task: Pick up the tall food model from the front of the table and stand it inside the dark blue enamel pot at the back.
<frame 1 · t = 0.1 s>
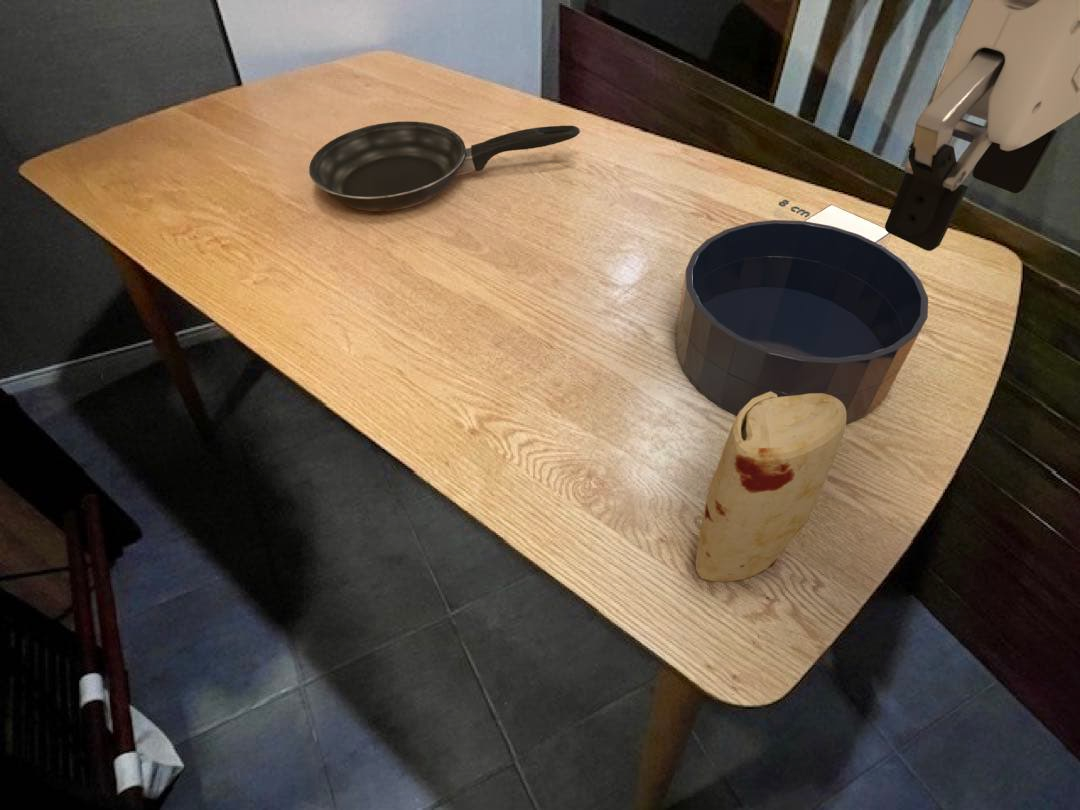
hand: (954, 210, 40), 30 cm above the table, tool pointing down, fingers open, 9 cm apart
pot: (780, 351, 75), on the table
frying pan: (436, 180, 107), on the table
food model: (737, 558, 58), on the table
container: (831, 249, 89), on the table
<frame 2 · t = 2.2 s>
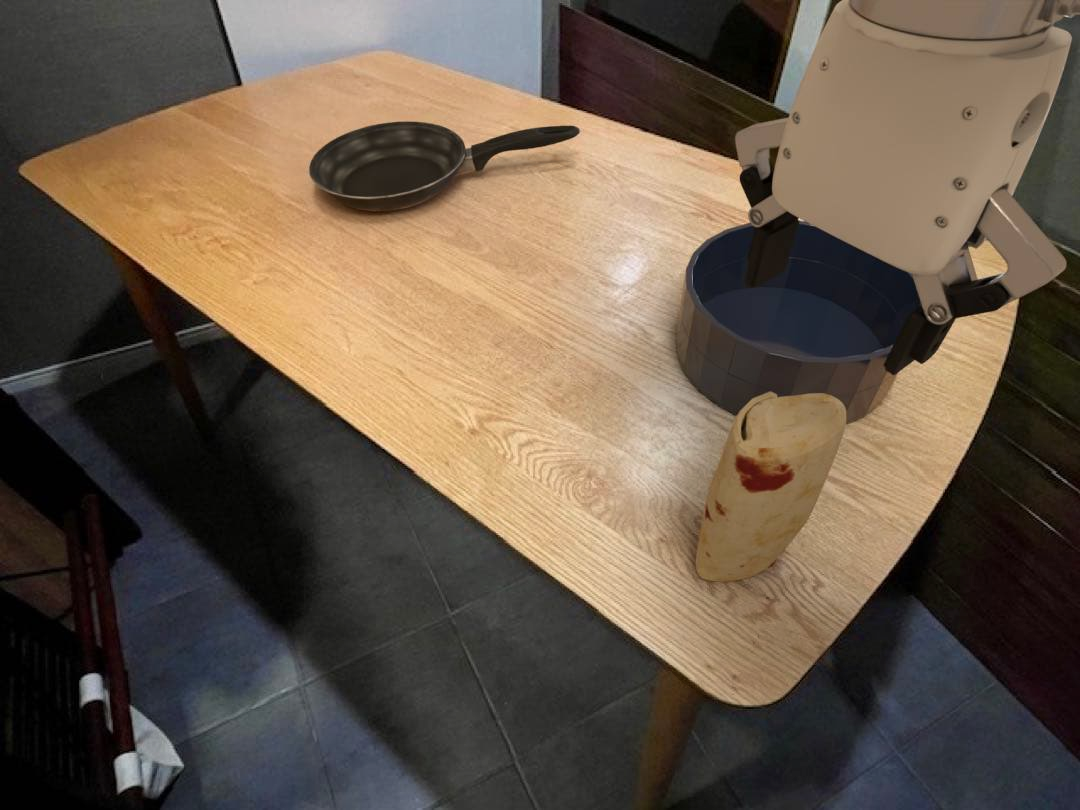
hand: (829, 316, 38), 28 cm above the table, tool pointing down, fingers open, 9 cm apart
nothing on the table moved.
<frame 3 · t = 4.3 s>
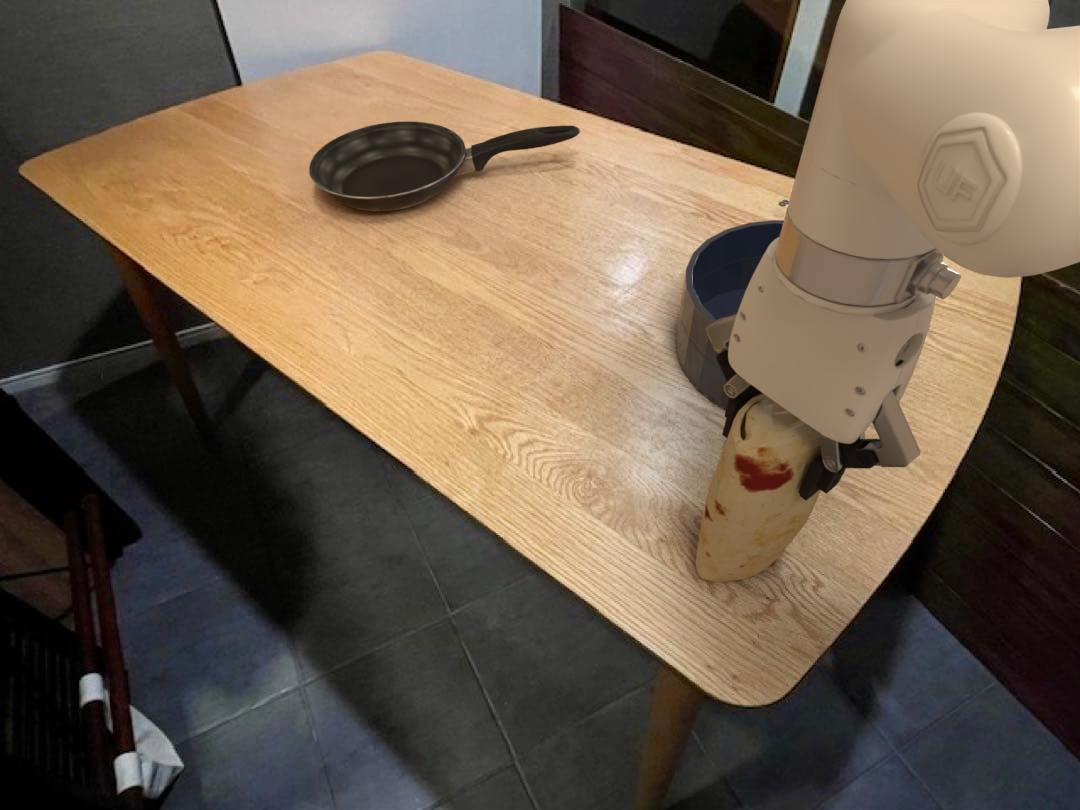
hand: (775, 455, 47), 15 cm above the table, tool pointing down, fingers closed on food model, 6 cm apart
food model: (737, 558, 58), on the table, touching gripper
everything else where it was.
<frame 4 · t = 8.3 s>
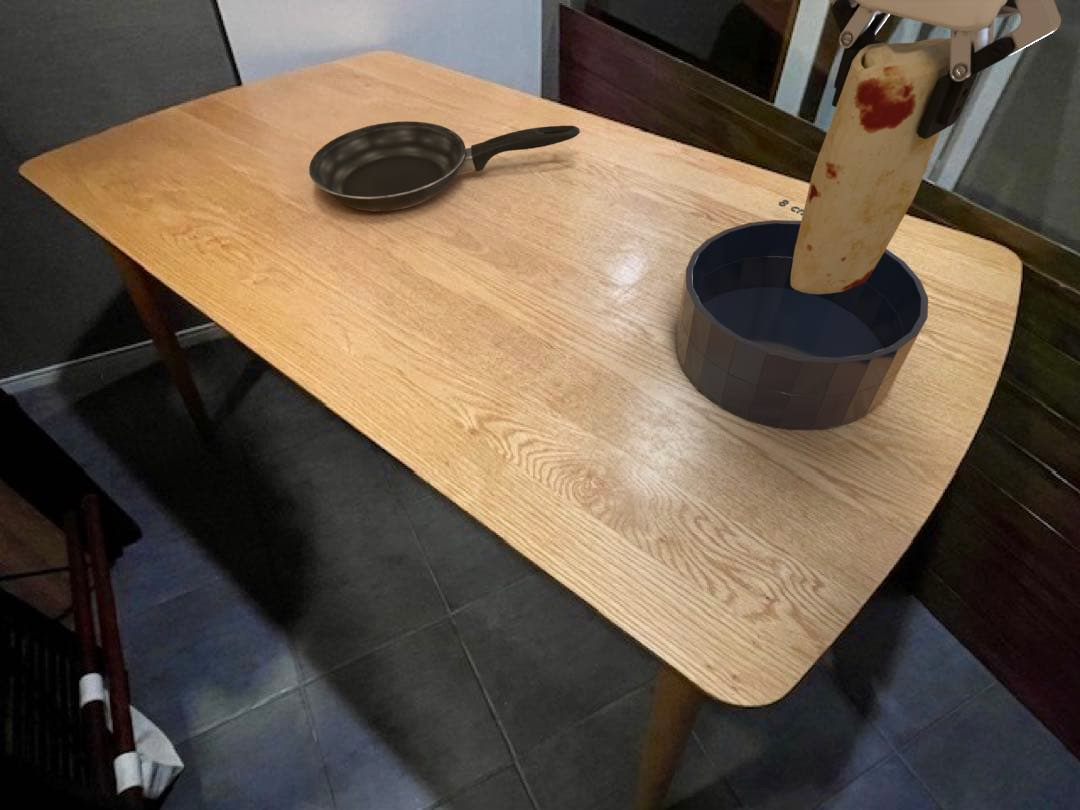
hand: (888, 114, 47), 31 cm above the table, tool pointing down, fingers closed on food model, 6 cm apart
food model: (828, 282, 58), point 16 cm above the table, touching gripper
everything else where it was.
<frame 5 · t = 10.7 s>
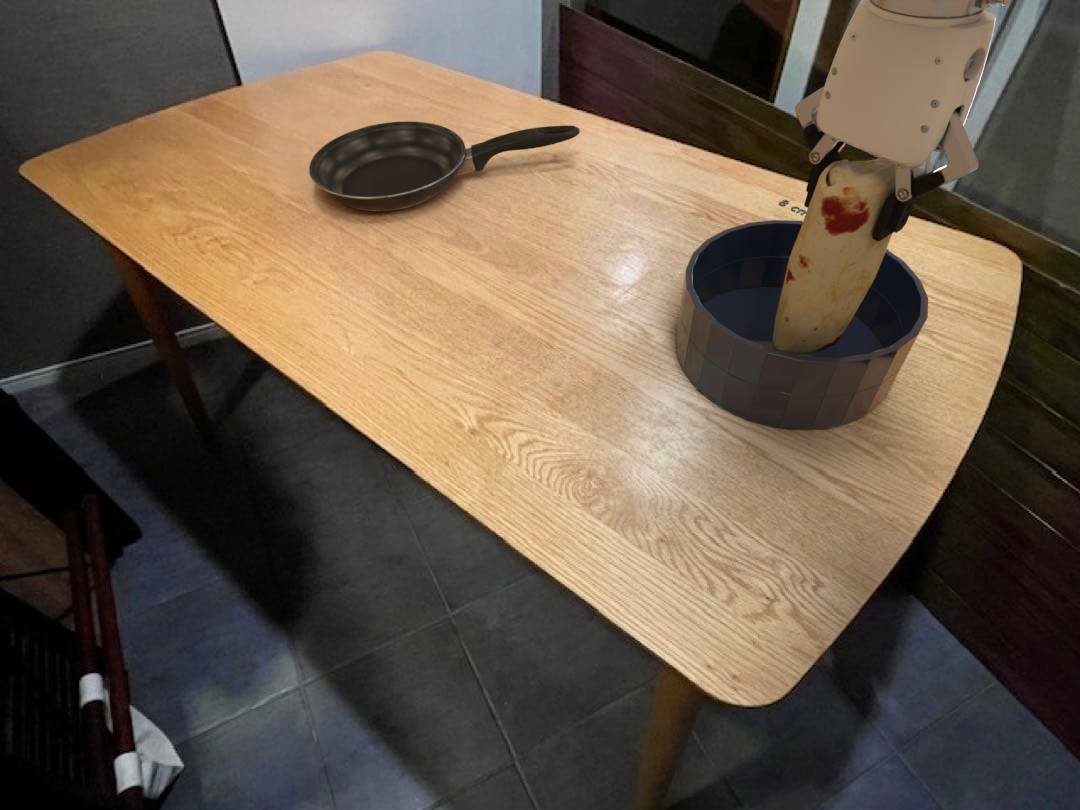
hand: (850, 216, 57), 21 cm above the table, tool pointing down, fingers closed on food model, 6 cm apart
food model: (805, 342, 68), point 6 cm above the table, touching gripper
everything else where it was.
when the fingers open (16 cm above the table, at t = 12.4 s): food model stays where it is, resting on pot.
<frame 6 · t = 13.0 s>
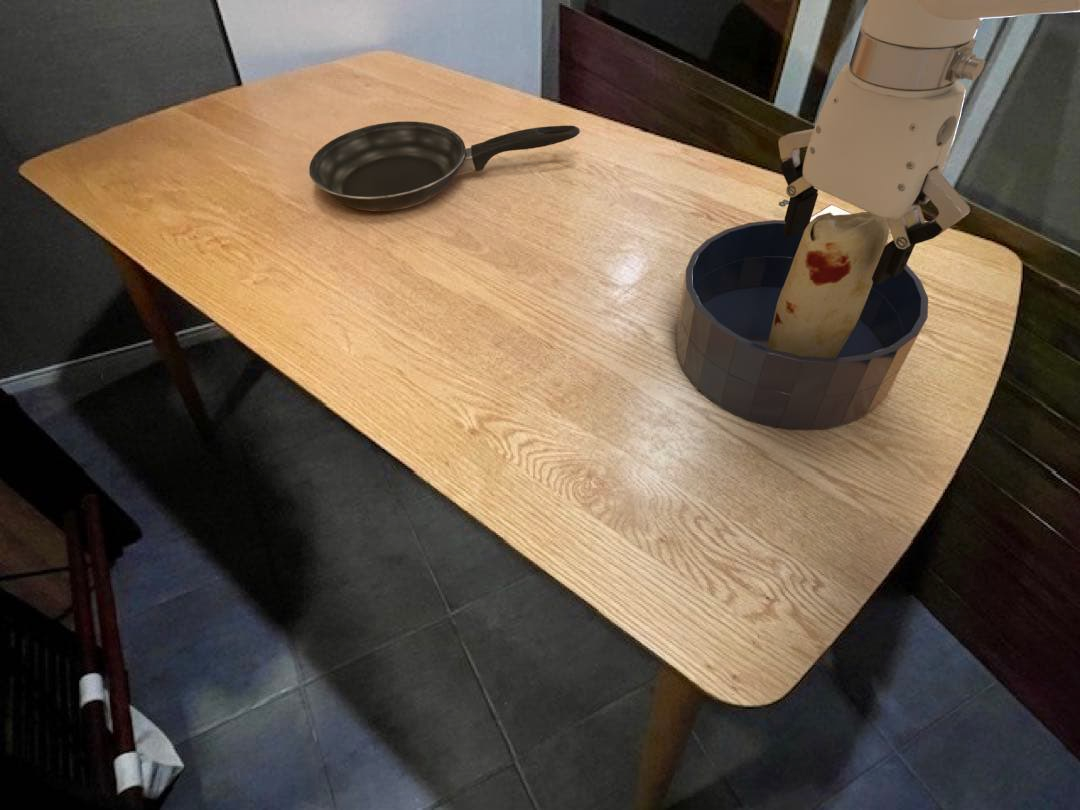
hand: (837, 253, 60), 17 cm above the table, tool pointing down, fingers open, 9 cm apart
food model: (793, 377, 72), resting on pot
everything else where it was.
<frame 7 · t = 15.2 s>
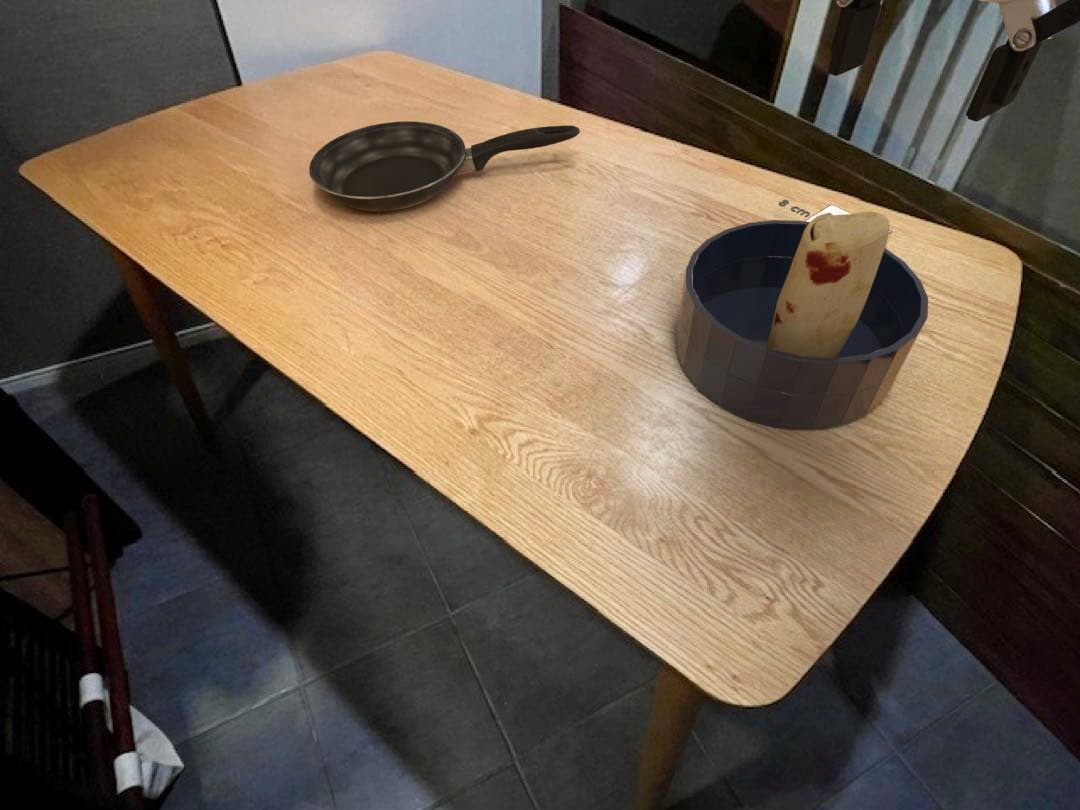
hand: (909, 90, 41), 35 cm above the table, tool pointing down, fingers open, 9 cm apart
nothing on the table moved.
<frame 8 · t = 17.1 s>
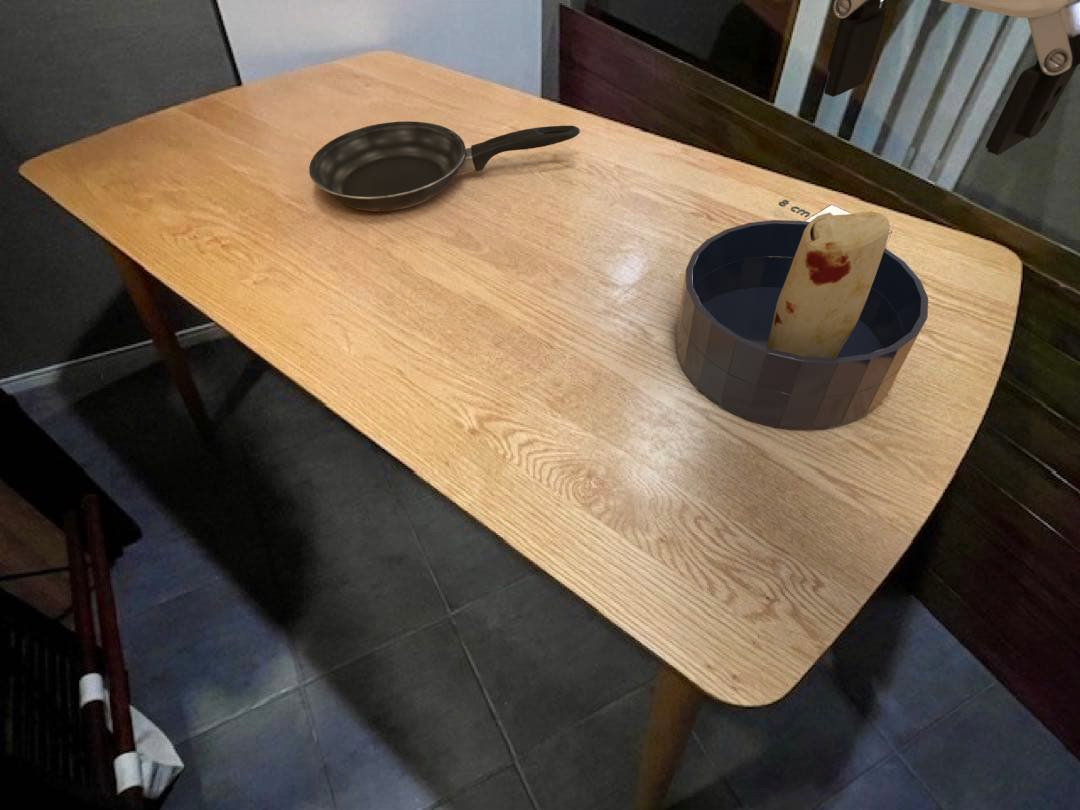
hand: (918, 115, 36), 36 cm above the table, tool pointing down, fingers open, 9 cm apart
nothing on the table moved.
at the end: food model inside the target area in the pot (4.7 cm from its centre), point 0.4 cm above the pot's base; food model tilted 0° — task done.
